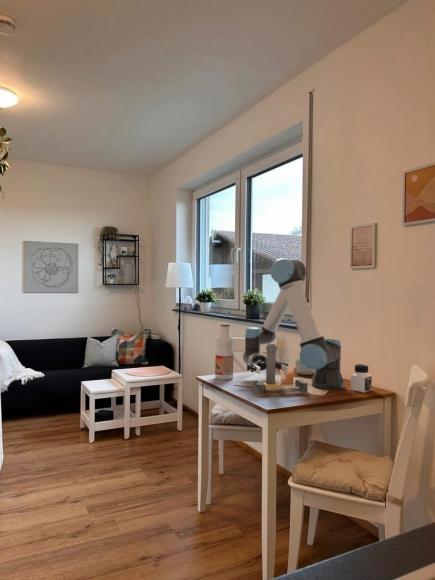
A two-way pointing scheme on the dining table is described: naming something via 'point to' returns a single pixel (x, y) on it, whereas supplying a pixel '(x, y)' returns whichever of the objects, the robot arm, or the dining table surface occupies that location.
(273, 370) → the post
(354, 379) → the medicine bottle
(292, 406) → the dining table surface
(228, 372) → the fruit juice
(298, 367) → the teacup
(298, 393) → the rail board
